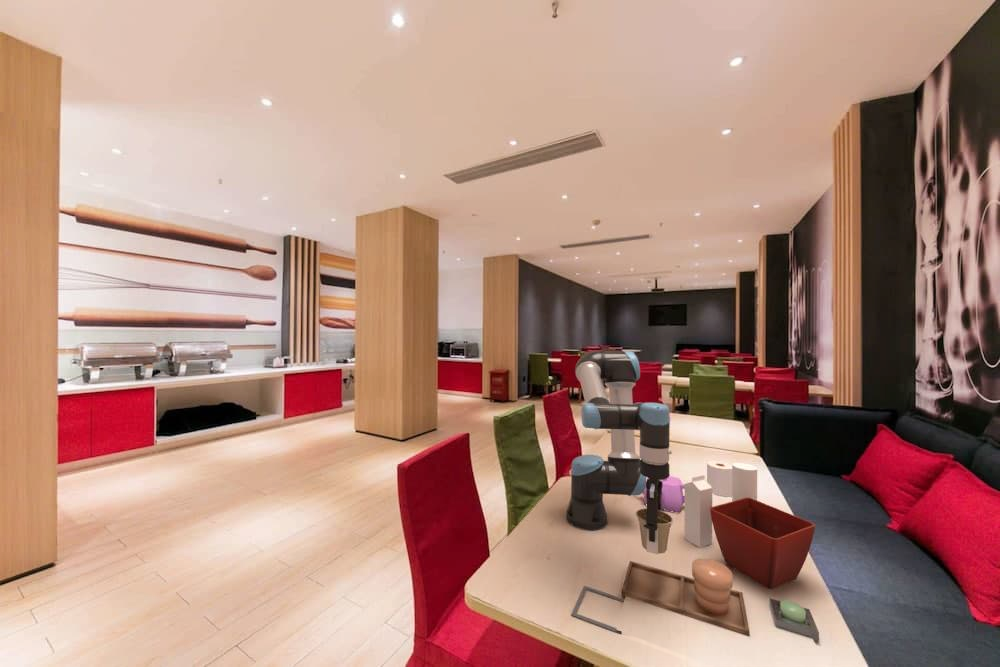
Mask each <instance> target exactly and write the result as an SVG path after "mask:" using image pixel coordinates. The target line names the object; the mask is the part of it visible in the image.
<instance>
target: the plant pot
mask: <svg viewBox="0 0 1000 667" xmlns="http://www.w3.org/2000/svg"><path fill="white" fill-rule="evenodd" d="M710 512H711V518H712V528H713V530H714V533H715V537H716V540H717V543H718V546H719V549H720V551H721V555H722V557H723V560H724V562H725V564H726V567H728V568H730V569H733V570H734V569H735V570H736V571H737V572H740V573H741V574H743V575H744V576H746V577H748V578H749V579H751V580H752V581H754V582H757V584H760V586H762V587H764V588H766V589H769V590H773V589H775V588H777V587H779V586H783V585H785V584H786V583H787V584H789V583H791V582H793V581H795V580H797V578H798V576H799V574H800V572H801V570H802V568H803V566H804V564H805V562H806V560H807V557H808V554H809V552H810V549H811V546H812V541H813V538H814V535H815V534H814V533H815V530H816V529H815V528H816V525H815V523H813V522H810V521H809V520H806V519H803V518H801V517H799V516H796V515H793V514H792V513H789V512H787V511H784V510H781V509H778V508H776V507H774V506H772V505H769V504H766V503H764V502H762V501H759V500H758V499H757V500H754V499H752V498H743V499H739V500H736V501H732V500H731V501H728V502H725V503H722V504H721V503H720V504H718V505H715V506H712V507H710Z"/></svg>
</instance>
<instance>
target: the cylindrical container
mask: <svg viewBox="0 0 1000 667" xmlns="http://www.w3.org/2000/svg"><path fill="white" fill-rule="evenodd" d="M731 465H732V496H731V502H732V501H736V500H739V499H743V498H752V499H754V500H757V501H758V467H756V466H754V465H752V464H750V463H742V462H733V463H732V464H731Z"/></svg>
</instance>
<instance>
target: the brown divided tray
mask: <svg viewBox="0 0 1000 667" xmlns="http://www.w3.org/2000/svg"><path fill="white" fill-rule="evenodd" d="M626 570H627V571H626V573H625V577H624V581H623V584H622V587H621V590H620V592H621V593H620V596H621V597H620V598H623V599H626V597H628V598H631V599H633V600H637V601H640V602H644V603H647V604H649V605H653V606H655V607H657V608H658V607H659V608H662V609H665V610H667V611H671V612H673V613H677V614H681V615H684V616H686V617H689V618H693V619H696V620H698V621H702V622H705V623H708V624H711V625H714V626H717V627H719V628H724V629H726V630H729V631H731V632H735V633H738V634H741V635H745V636H747V637H751V636H750V635H751V634H750V626H749V622H748V615H747V609H746V604H745V600H744V599H745V598H744V594H743V592H741V591H739V590H735V589H732V588H731V589H730V601H729V602H728V612H727V613H726V614H724V615H715V614H712V613H709V612H707V611H705V610H703V609H702V608H701V607H700V606H699V605H698V604H697V602H696V592H695V589H694V578H692V577H688V576H684V575H681V574H678V573H674V572H671V571H667V570H664V569H659V568H658V567H654V566H650V565H646V564H642V563H640V562H635V561H632V560H629V563H628V566H627V569H626Z"/></svg>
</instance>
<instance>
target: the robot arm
mask: <svg viewBox="0 0 1000 667" xmlns="http://www.w3.org/2000/svg"><path fill="white" fill-rule="evenodd" d="M639 362H640V361H639V359H638V356H637V355H636V354H635V353H634V352H633V351H630V350H593V351H592V350H591V351H589V352H587V353H585V354H583V355H582V356H581V357H580V358H579V359H578V361H577V362H576V364H575V368H574V371H575V372H574V373H575V376H576V379H577V380H578V381H579V383H580V386H581V390H582V396H583V399H584V403H583V404H582V405H581V411H580V412H581V424H582V427H584V428H586V429H594V430H610V442H611V443H610V444H611V447H610V448H611V451H610V453H609V454H608V455H607V460H604V458H603V457H602V456H601V455H595V454H584V455H580V456H579V455H578V456H577V457H575V458H574V459H572V462H571V470H570V475H571V479H570V480H571V481H570V482H571V484H570V486H571V487H570V488H571V489H570V493H571V494H570V498H569V499H570V500H569V503H568V506H567V508H566V513H565V515H566V516H565V517H566V518H565V519H566V521H567V522H568V523H569V525H571V526H574V527H576V528H577V529H581V530H586V531H597V530H601V529H603V528H605V527H607V525H608V518H609V517H608V513H607V510H606V506H605V504H604V500H603V499H604V495H616V496H617V495H620V496H629V497H631V496H640V495H643V491H644V489H645V485H646V489H647V490H646V498H647V506H646V509H647V512H646V525H644V527H646V528H647V550H646V552H647V553H651V554H653V555H654V554H655V555H658V527H657V521H658V510H660V511H663V512H665V511H664V509H662V508H661V506H662V504H661V495H662V486H663V482H662V481H661V479H667V478H668V477H669V474H670V463H669V462H670V455H672V454H673V451H672V450H670V428H671V427H670V424H671V423H670V422H671V414H670V409H669V406H668V405H667V404H664V403H660V402H659V403H658V402H636V403H634V402H633V388H634V387H635V386H636V385H637V383H636V381H638V380H639V379H640V378H641V367H640V363H639ZM603 381H604V382H603ZM604 385H605V386H606V387H607V388H608V394H609V395H608V394H607V391H606V388H605V386H604ZM608 396H609V397H608ZM635 431H639V455H638V454H637V452H636V442H635V441H636V439H635ZM647 478H649V479H647ZM646 481H647V482H646Z"/></svg>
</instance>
